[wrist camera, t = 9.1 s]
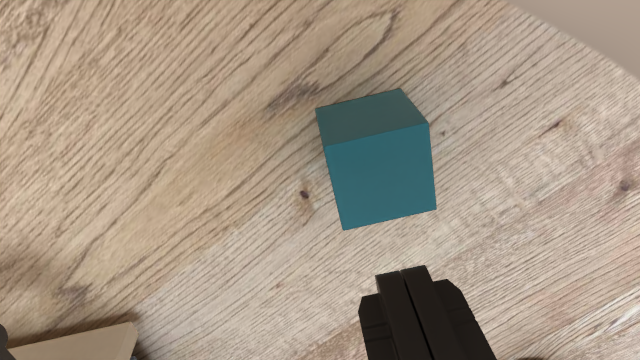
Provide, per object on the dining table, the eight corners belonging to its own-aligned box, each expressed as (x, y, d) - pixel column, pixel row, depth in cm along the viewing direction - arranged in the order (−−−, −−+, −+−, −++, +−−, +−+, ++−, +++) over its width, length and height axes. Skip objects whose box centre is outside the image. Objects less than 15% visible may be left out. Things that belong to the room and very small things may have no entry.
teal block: (314, 108, 21) (322, 146, 17) (400, 87, 21) (429, 122, 17) (332, 181, 23) (343, 231, 19) (410, 163, 23) (436, 209, 19)
